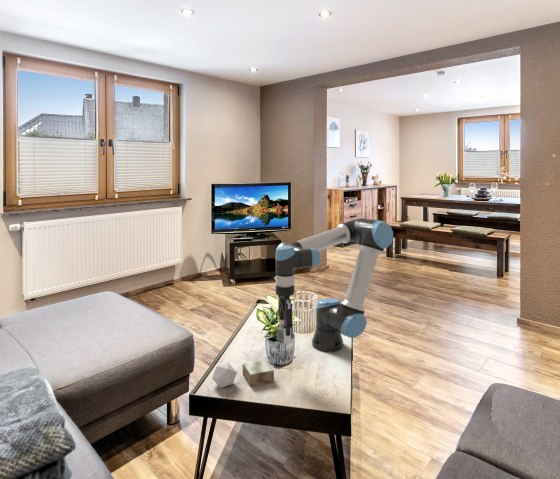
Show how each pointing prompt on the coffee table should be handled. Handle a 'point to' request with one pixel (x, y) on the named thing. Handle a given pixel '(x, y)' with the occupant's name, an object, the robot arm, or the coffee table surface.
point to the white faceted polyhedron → (224, 375)
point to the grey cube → (282, 333)
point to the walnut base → (258, 373)
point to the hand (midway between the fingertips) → (284, 338)
